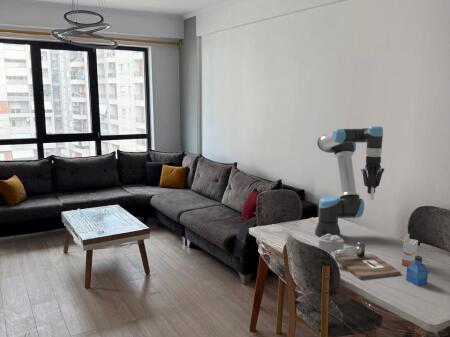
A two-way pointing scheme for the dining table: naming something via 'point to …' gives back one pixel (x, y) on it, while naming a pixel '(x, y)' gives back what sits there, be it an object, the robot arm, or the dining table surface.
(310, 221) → the dining table surface
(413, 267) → the perfume bottle
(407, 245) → the ink cartridge box
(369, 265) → the label board
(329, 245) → the lumpy-topped squat cylinder
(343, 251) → the swing bar
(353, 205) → the robot arm
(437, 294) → the dining table surface
